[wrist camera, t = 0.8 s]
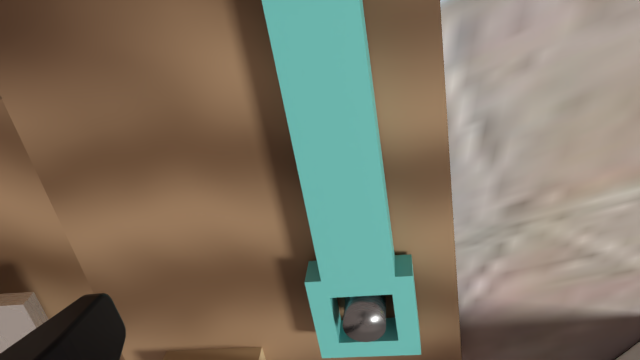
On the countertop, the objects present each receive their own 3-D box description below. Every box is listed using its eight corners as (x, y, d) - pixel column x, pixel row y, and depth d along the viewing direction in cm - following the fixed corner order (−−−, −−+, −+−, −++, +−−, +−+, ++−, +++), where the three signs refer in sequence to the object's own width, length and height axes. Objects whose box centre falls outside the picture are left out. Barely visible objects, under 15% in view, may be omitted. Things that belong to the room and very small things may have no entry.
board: (459, 353, 27) (466, 400, 25) (-11, 370, 32) (-44, 411, 30) (422, -244, 16) (428, -263, 14) (-304, -84, 21) (-396, -76, 18)
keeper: (112, 338, 30) (76, 400, 26) (-1, 343, 31) (-48, 403, 27) (69, 248, 27) (23, 304, 23) (-54, 257, 28) (-114, 312, 25)
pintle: (388, 293, 26) (388, 341, 23) (349, 295, 26) (345, 342, 24) (383, 262, 25) (383, 309, 23) (344, 265, 25) (339, 311, 23)
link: (419, 331, 25) (421, 354, 24) (325, 335, 26) (322, 358, 25) (362, -193, 16) (361, -197, 14) (215, -162, 16) (201, -164, 15)
